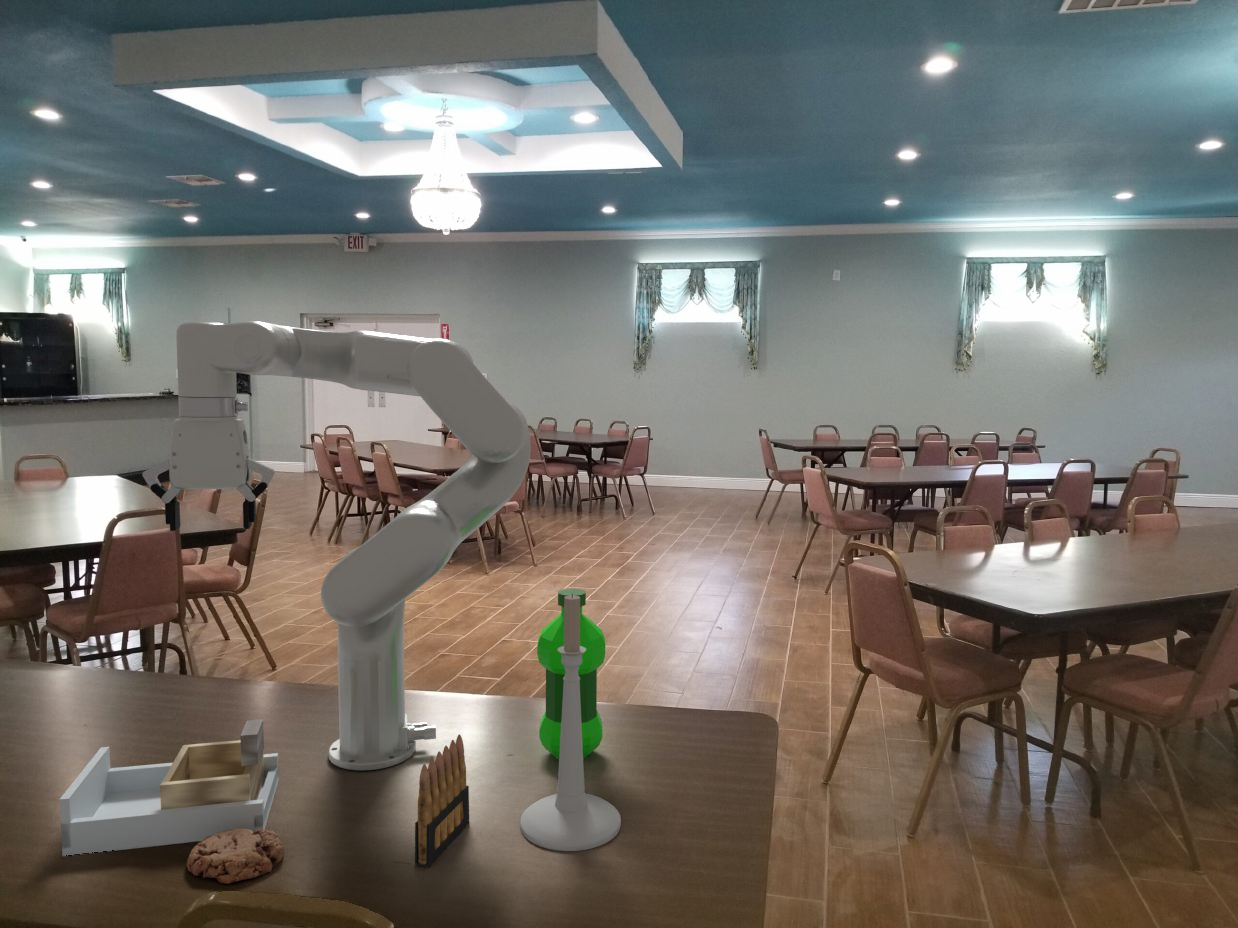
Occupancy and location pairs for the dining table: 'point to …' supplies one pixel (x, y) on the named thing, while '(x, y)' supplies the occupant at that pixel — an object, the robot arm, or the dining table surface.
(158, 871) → the dining table surface
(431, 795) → the ammunition clip
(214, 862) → the cookie
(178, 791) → the drawer
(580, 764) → the candlestick
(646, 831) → the dining table surface
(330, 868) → the dining table surface
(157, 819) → the bay
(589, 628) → the plastic bottle
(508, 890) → the dining table surface
